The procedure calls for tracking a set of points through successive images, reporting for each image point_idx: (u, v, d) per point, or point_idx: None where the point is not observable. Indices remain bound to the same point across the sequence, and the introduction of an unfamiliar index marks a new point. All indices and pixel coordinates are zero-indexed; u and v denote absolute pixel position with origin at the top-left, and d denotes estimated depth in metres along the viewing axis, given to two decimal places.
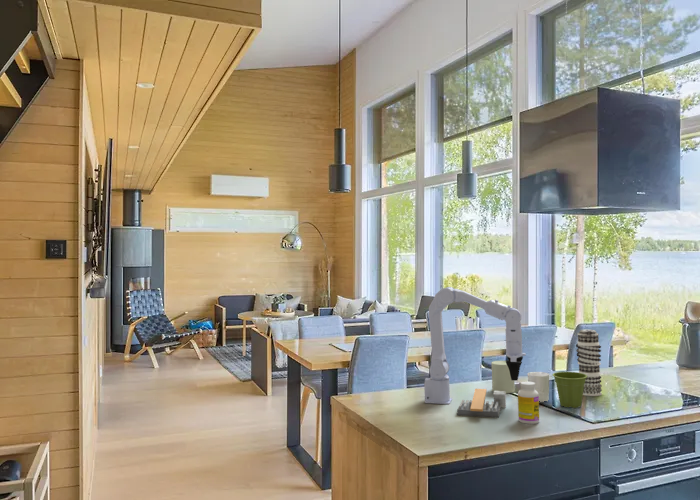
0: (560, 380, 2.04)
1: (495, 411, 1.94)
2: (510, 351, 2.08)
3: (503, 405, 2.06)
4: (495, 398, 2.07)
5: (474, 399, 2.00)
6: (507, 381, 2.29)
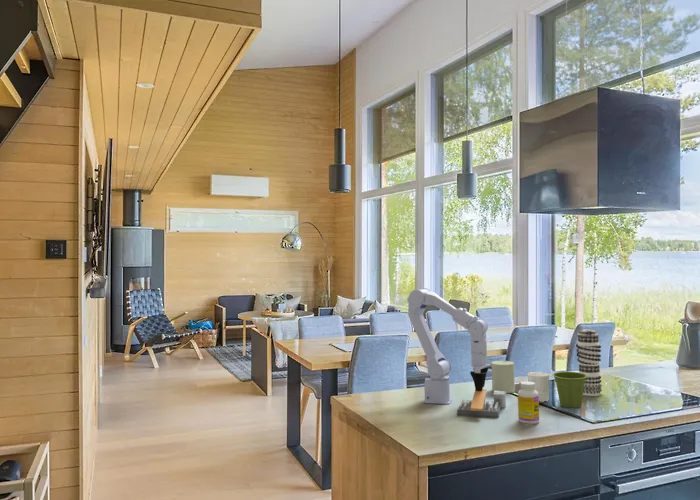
0: (560, 380, 2.04)
1: (495, 411, 1.94)
2: (474, 362, 2.09)
3: (503, 405, 2.06)
4: (495, 398, 2.07)
5: (474, 399, 2.00)
6: (507, 381, 2.29)
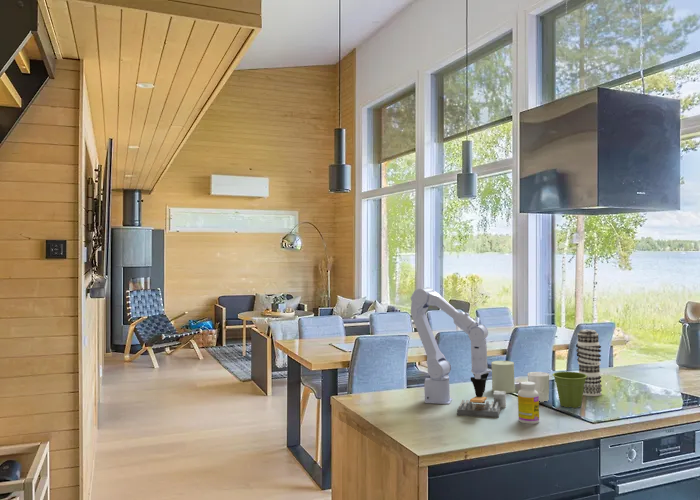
0: (560, 380, 2.04)
1: (495, 411, 1.94)
2: (475, 367, 2.09)
3: (503, 405, 2.06)
4: (495, 398, 2.07)
5: None
6: (507, 381, 2.29)
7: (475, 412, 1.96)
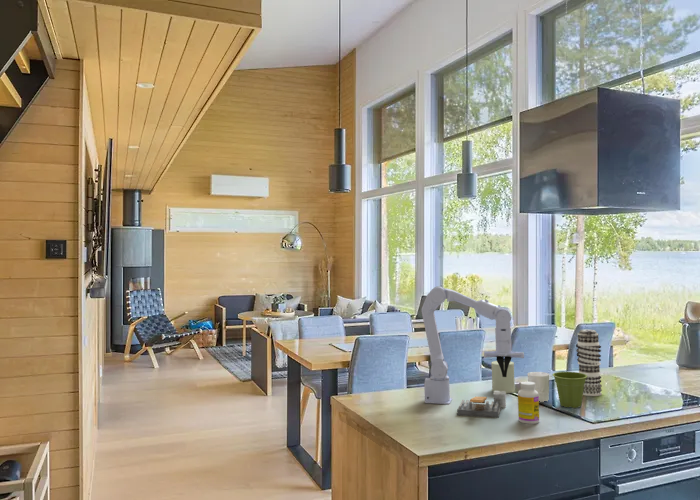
0: (560, 380, 2.04)
1: (495, 411, 1.94)
2: None
3: (503, 405, 2.06)
4: (495, 398, 2.07)
5: None
6: (507, 381, 2.29)
7: (475, 412, 1.96)
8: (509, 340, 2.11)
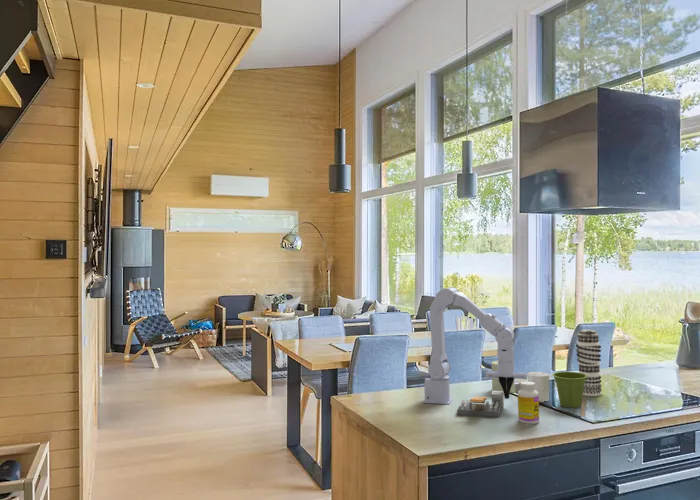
0: (560, 380, 2.04)
1: (495, 411, 1.94)
2: None
3: (501, 405, 2.06)
4: (493, 398, 2.07)
5: None
6: None
7: (475, 412, 1.96)
8: (510, 361, 2.05)
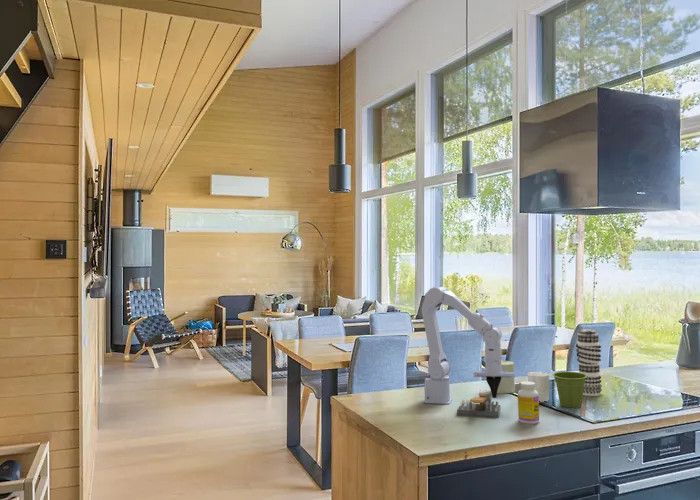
0: (560, 380, 2.04)
1: (495, 411, 1.94)
2: None
3: None
4: None
5: None
6: (507, 381, 2.29)
7: (475, 412, 1.96)
8: (497, 360, 2.06)
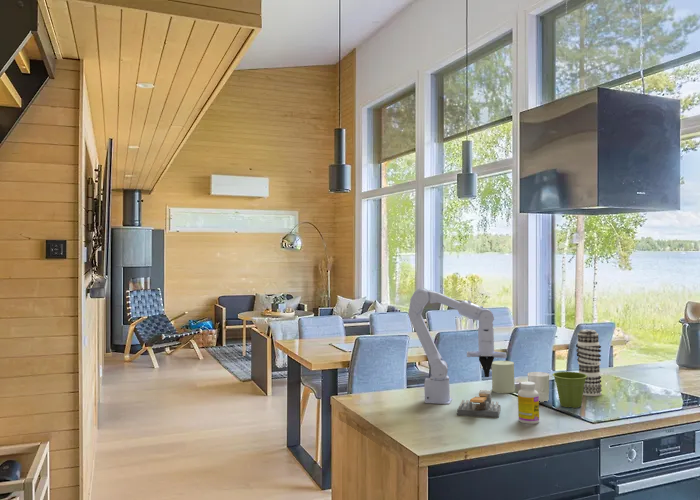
0: (560, 380, 2.04)
1: (495, 411, 1.94)
2: None
3: None
4: None
5: None
6: (507, 381, 2.29)
7: (475, 412, 1.96)
8: (492, 340, 2.13)
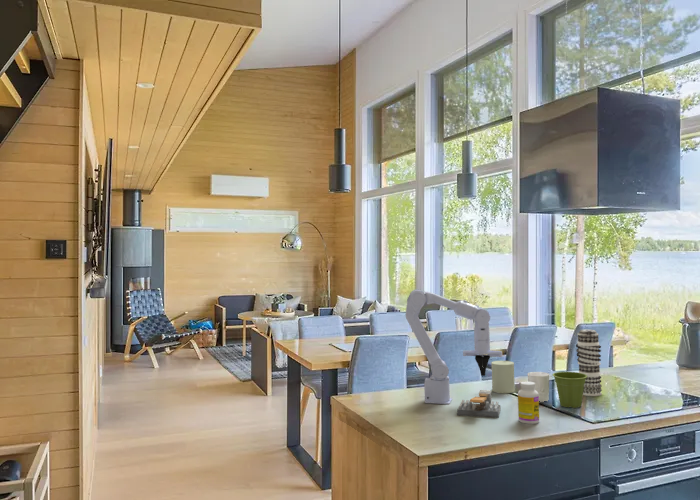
0: (560, 380, 2.04)
1: (495, 411, 1.94)
2: None
3: None
4: None
5: None
6: (507, 381, 2.29)
7: (475, 412, 1.96)
8: (488, 339, 2.15)
